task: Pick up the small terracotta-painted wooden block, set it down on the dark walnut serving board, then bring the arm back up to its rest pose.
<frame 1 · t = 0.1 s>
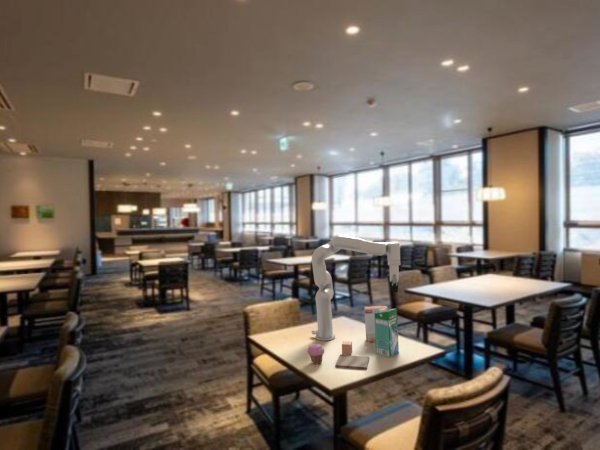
hand: (395, 290, 218), 31 cm above the table, tool pointing down, fingers open, 9 cm apart
terracotta block: (347, 353, 203), on the table
serving board: (352, 362, 189), on the table
cracker box: (377, 340, 222), on the table
cupcake: (316, 363, 192), on the table
milk carton: (387, 353, 201), on the table
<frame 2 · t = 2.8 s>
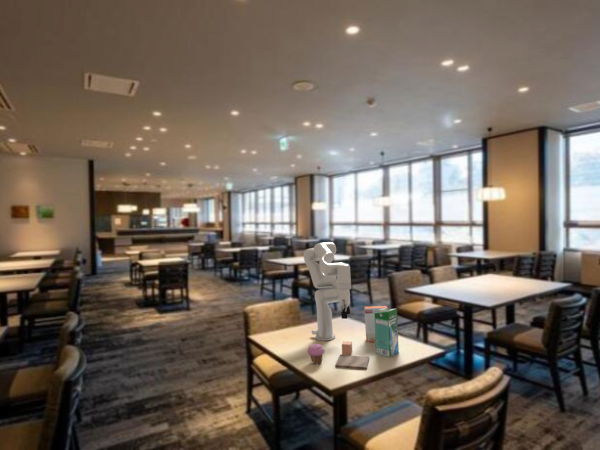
hand: (345, 316, 203), 21 cm above the table, tool pointing down, fingers open, 9 cm apart
nothing on the table moved.
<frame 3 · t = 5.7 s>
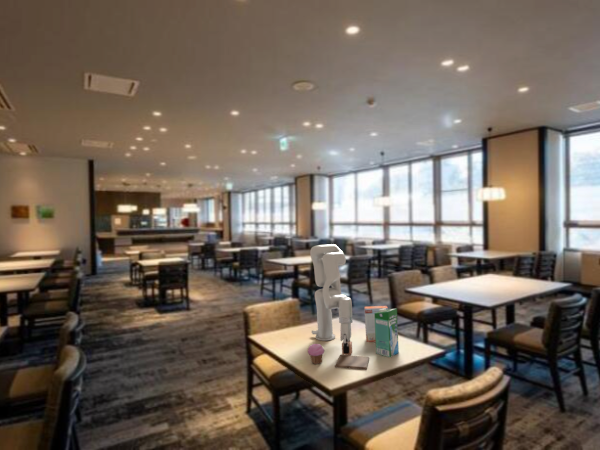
hand: (347, 351, 203), 1 cm above the table, tool pointing down, fingers closed on terracotta block, 5 cm apart
terracotta block: (347, 353, 203), on the table, touching gripper
everything else where it was.
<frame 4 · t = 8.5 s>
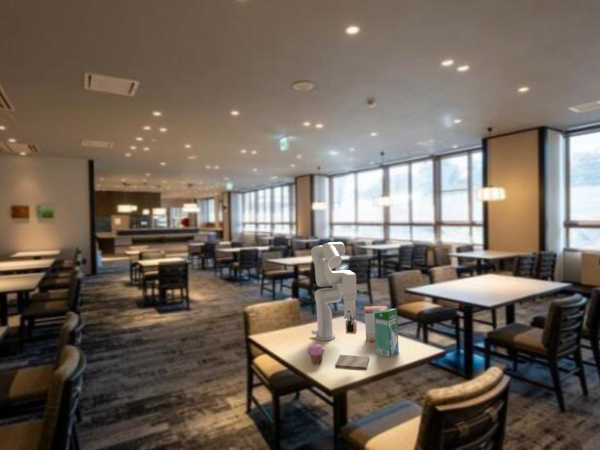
hand: (351, 329, 189), 18 cm above the table, tool pointing down, fingers closed on terracotta block, 5 cm apart
terracotta block: (351, 332, 189), point 16 cm above the table, touching gripper
everything else where it was.
when the fingers open (4 cm above the table, at t = 11.8 s): terracotta block drops 1 cm, resting on serving board.
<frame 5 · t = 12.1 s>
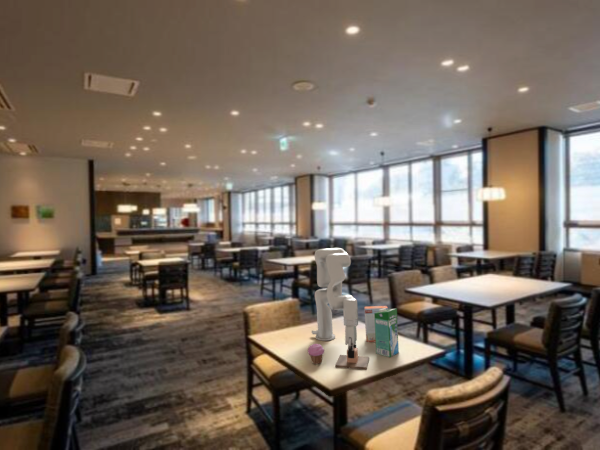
hand: (352, 354, 189), 4 cm above the table, tool pointing down, fingers open, 7 cm apart
terracotta block: (352, 360, 189), point 1 cm above the table, touching serving board
everything else where it was.
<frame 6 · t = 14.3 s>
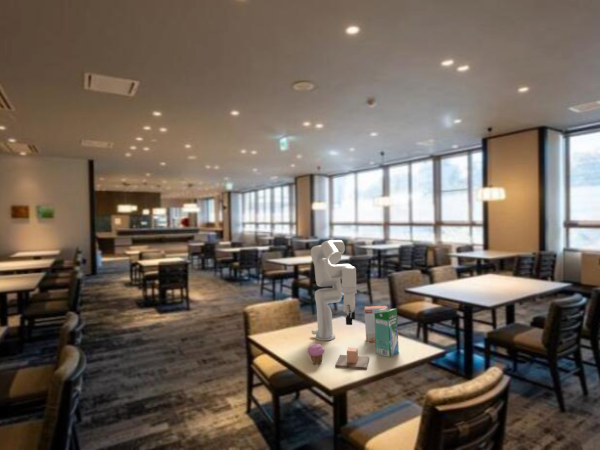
hand: (350, 321, 190), 22 cm above the table, tool pointing down, fingers open, 9 cm apart
nothing on the table moved.
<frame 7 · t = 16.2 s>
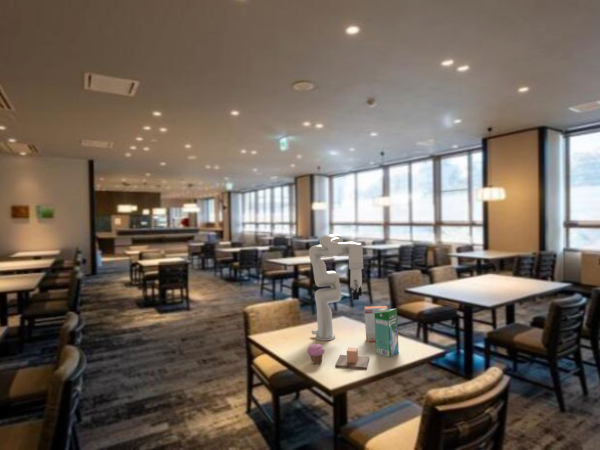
hand: (357, 297, 193), 34 cm above the table, tool pointing down, fingers open, 9 cm apart
nothing on the table moved.
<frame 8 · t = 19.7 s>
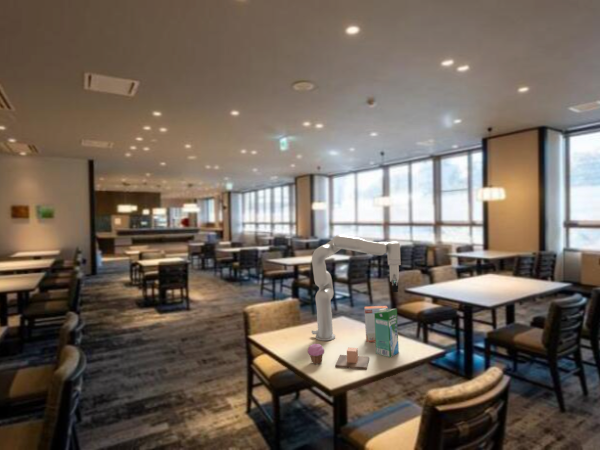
hand: (395, 290, 218), 31 cm above the table, tool pointing down, fingers open, 9 cm apart
nothing on the table moved.
at the end: terracotta block inside the target area on the serving board (0.1 cm from its centre), point 1.2 cm above the serving board's base; terracotta block tilted 0°; the gripper is holding nothing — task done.
